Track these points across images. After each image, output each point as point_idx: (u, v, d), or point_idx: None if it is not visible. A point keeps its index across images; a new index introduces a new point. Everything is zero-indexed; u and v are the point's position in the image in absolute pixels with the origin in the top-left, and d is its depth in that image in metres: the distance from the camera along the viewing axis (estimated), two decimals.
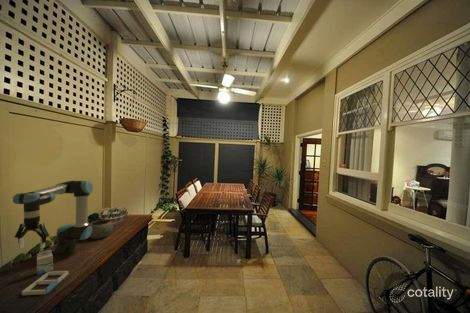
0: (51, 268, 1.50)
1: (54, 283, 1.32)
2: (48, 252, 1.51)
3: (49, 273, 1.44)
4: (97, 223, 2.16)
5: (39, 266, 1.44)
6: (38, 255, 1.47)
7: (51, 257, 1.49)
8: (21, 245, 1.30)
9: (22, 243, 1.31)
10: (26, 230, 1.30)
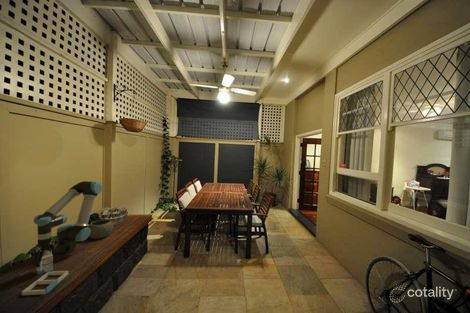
0: (51, 268, 1.50)
1: (54, 283, 1.32)
2: (48, 252, 1.51)
3: (49, 273, 1.44)
4: (97, 223, 2.16)
5: None
6: None
7: (51, 257, 1.49)
8: None
9: None
10: (45, 248, 1.50)
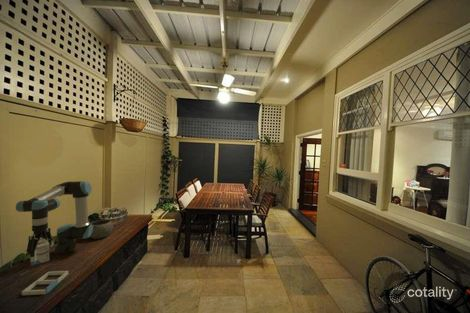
0: (47, 258, 1.31)
1: (54, 283, 1.32)
2: (44, 240, 1.33)
3: (49, 273, 1.44)
4: (97, 223, 2.16)
5: None
6: None
7: (47, 246, 1.31)
8: None
9: None
10: None
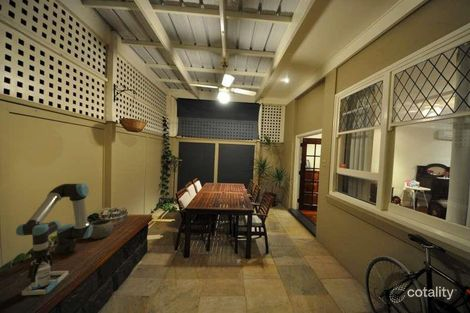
0: (48, 282, 1.31)
1: (54, 283, 1.32)
2: (45, 263, 1.33)
3: None
4: (97, 223, 2.16)
5: None
6: None
7: (48, 269, 1.31)
8: None
9: None
10: None
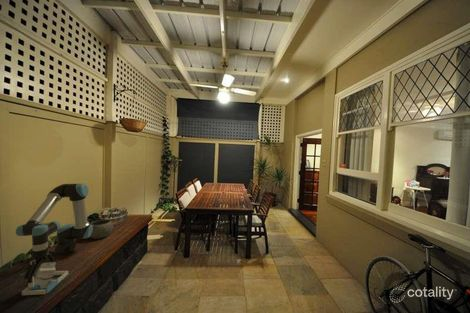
0: (47, 285, 1.31)
1: (54, 283, 1.32)
2: (52, 265, 1.36)
3: None
4: (97, 223, 2.16)
5: (37, 279, 1.27)
6: (41, 266, 1.32)
7: (53, 271, 1.33)
8: None
9: None
10: None
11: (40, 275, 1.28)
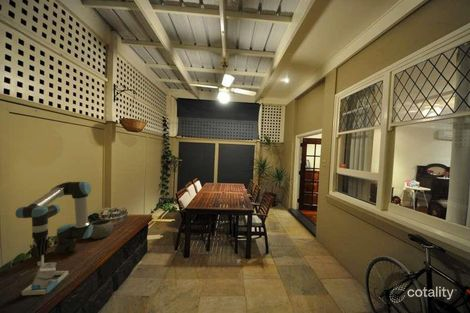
0: (47, 285, 1.31)
1: (54, 283, 1.32)
2: (52, 265, 1.36)
3: None
4: (97, 223, 2.16)
5: (38, 279, 1.27)
6: (42, 266, 1.32)
7: (53, 272, 1.33)
8: None
9: None
10: None
11: (40, 275, 1.28)
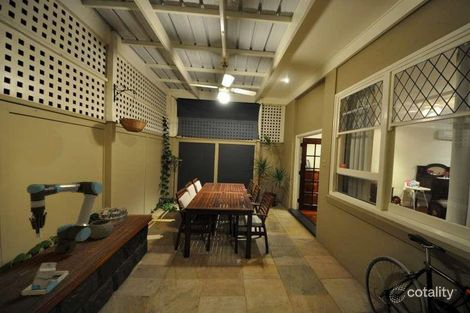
0: (47, 285, 1.31)
1: (54, 283, 1.32)
2: (52, 265, 1.35)
3: None
4: (97, 223, 2.16)
5: (37, 279, 1.27)
6: (42, 266, 1.32)
7: (53, 272, 1.33)
8: None
9: None
10: None
11: (40, 275, 1.28)
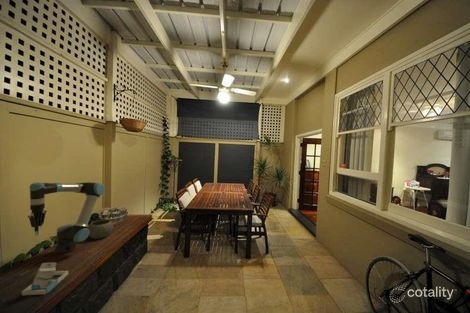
0: (47, 285, 1.31)
1: (54, 283, 1.32)
2: (52, 265, 1.35)
3: None
4: (97, 223, 2.16)
5: (37, 279, 1.27)
6: (42, 266, 1.32)
7: (53, 272, 1.33)
8: None
9: None
10: None
11: (40, 275, 1.28)
